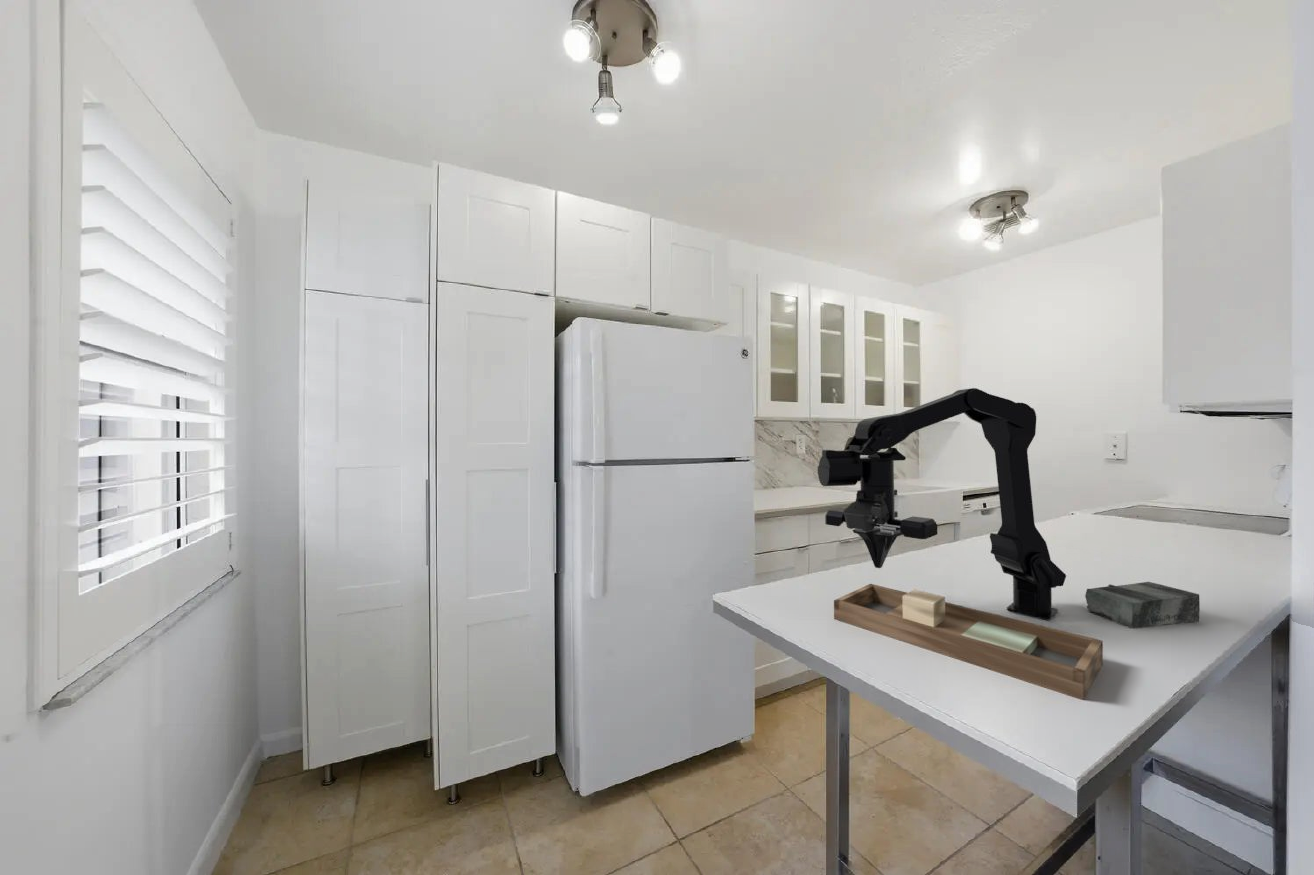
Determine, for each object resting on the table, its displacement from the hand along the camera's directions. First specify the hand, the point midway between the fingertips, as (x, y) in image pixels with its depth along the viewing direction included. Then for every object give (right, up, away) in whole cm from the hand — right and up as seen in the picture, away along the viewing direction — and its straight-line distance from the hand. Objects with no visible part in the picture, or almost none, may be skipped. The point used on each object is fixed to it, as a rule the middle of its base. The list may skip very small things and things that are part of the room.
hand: (878, 567), depth 88 cm
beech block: (+5, -7, -6) cm, 11 cm away
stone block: (+47, -9, -2) cm, 48 cm away
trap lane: (+8, -9, -10) cm, 16 cm away
